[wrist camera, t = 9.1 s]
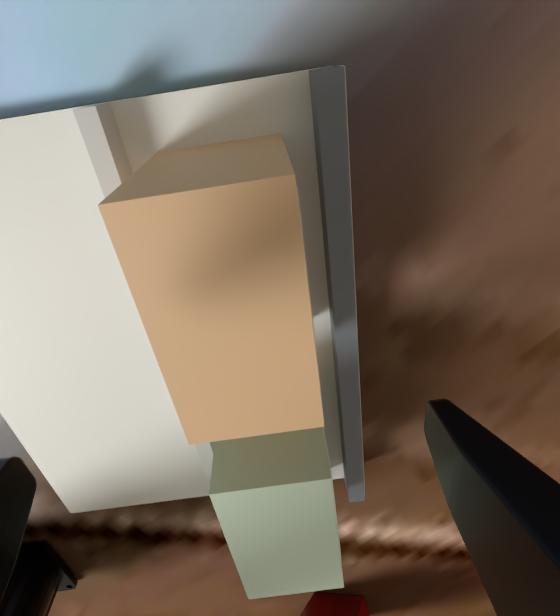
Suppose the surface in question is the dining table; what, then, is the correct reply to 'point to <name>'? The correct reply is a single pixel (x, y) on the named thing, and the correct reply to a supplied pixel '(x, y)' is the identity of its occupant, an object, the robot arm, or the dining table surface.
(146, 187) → the ochre tea box
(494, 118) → the dining table surface
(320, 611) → the french fries
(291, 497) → the sage tea box
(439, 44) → the dining table surface
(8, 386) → the shelf
